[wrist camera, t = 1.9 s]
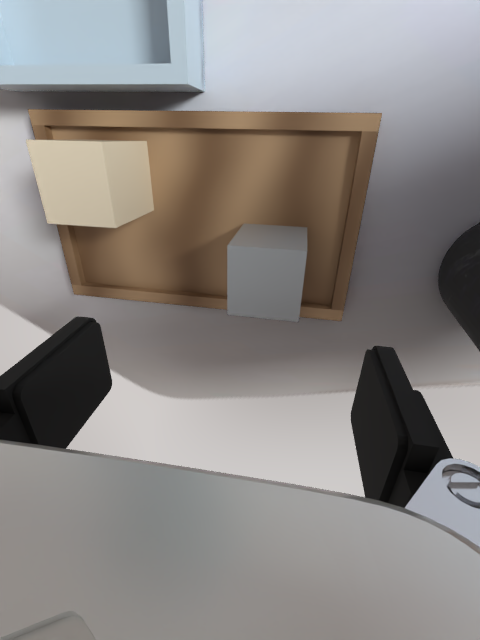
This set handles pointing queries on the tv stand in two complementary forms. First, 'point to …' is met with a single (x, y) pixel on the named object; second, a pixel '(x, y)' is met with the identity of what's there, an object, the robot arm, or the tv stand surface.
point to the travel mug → (463, 282)
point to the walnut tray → (223, 200)
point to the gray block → (266, 271)
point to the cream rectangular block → (92, 181)
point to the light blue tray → (102, 45)
